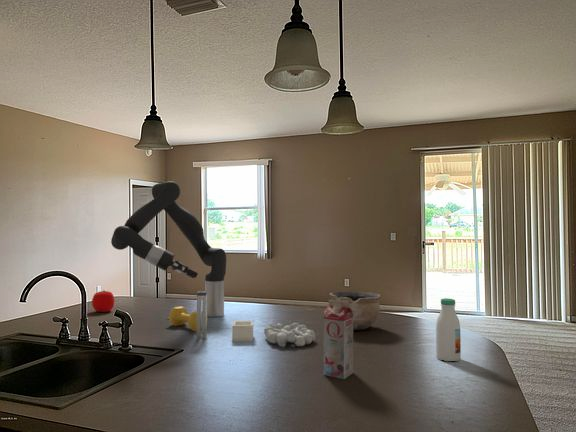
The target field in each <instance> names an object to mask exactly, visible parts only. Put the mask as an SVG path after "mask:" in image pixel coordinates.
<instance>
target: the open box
mask: <svg viewBox="0 0 576 432" xmlns="http://www.w3.org/2000/svg"><path fill="white" fill-rule="evenodd" d="M231 329H232V332H231V335H232V336H231V341H232V342H253V341H254V320H234V321H233V322H232V325H231Z"/></svg>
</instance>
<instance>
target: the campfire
mask: <svg viewBox="0 0 576 432" xmlns="http://www.w3.org/2000/svg"><path fill="white" fill-rule="evenodd" d="M263 329H264V330H263V333H264V335H265V339H266V341H267V342H269V343H272V344H279V345H284V344H286V343H293V344H294V346H295V347H296V346H297V347H304V346H305V345H310V344H311V343H312V342H313V341H315V339H316V333H315V331H314V330H312V329H309V328H307V325H305V324H300V323H298V322H294V323H291V324H290V325H283V324H282V323H279V322H278V323H277V324H273V323H270V324H269V325H268V326H266V327H265V328H263Z"/></svg>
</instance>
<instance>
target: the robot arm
mask: <svg viewBox="0 0 576 432" xmlns="http://www.w3.org/2000/svg"><path fill="white" fill-rule="evenodd" d="M151 194H152V198H153V199H152V200H150V201H149V202H147V203H146V204H144V205H142V206H141V207H140V208H138V209H137V210H136V211H134V213H133V214H132V215H130V216H129V218H127V220H126V221H125V223H124V225H119V226H117V227H116V228H115V229H114V231H113V233H112V237H111V240H110V243H111V246H112V247H113V248H114V249H115V250H118V251H119V250H120V251H122V250H124V249H127V248H128V247H130V248H131V249H132V253H133V254H134V255H135V256H137V257H138V258H140V259H143V260H144V261H146V262H147V263H149V264H151V265H153V266H155V267H157V268H159V269H161V270H163V271H164V272H165V271H167V270H168V268H169V267H170V268H171V269H172V271H174V272H177V273H179V274H183V275H186V276H188V277H190V278H192V279H196V278H197V276H198V275H199V273H198V272H197V271H195V270H192V269H190V267H189V266H187V265H186V264H184V263H182V262H181V261H179V260H174V258H175V256H176V255H175V254H174V252H171V251H169V250H167V249H165V248H163V247H161V246H160V245H156V244H154V243H152V242H150V241H148V240H146V239H144V238H143V237H142V235H140V234H139V233H140V232H142V230H144V228H146V226H147V225H148V224H149V223H150V222H151V221H152V220H153V219H154V218H155V217H156V216H157V215H159V214H160V213H161V212H162V211H164V212H165V213H167V215H168V216H169V217H170V218H171V220H172V221H173V222H174V223H175V226H177V227H178V229H179V230H180V232H181V233H182V234H183V235H184V237H186V239H187V240H188V242H189V243H190V244H191V246H192V248H194V250H195V251H196V253H197V255H198V256H199V258H200V260H201V261H202V262H203V264H204V265H205V266H207V267H211V268H210V269H211V270H210V272H209V273H206V275H205V277H204V278H205V284H204V286H205V287H204V291H207V318H208V317H209V318H217V317H218V318H219V317H223V316H224V315H225V276H226V274H227V272H226V271H227V254H226V252H225V250H224V249H223V248H221V247H212V246H211V245H210V244H209V243H208V242H207V241H206V239H205V236H204V228H203V226H202V224H201V222H200V221H199V220H198V218H197V217H196V216H195V215H194V214H193V213H191V212H190V211H189V210H187V209H185V208H184V207H182V206H180V205H179V204H178V203H177V202H176V201H177V200H178V199H179V198H180V195H181V188H180V186H179V184H178V183H177V182H175V181H173V180H172V181H171V180H169V181H162V182H160V183H159V182H158V183H155V184H154V185H153V186H152V188H151Z"/></svg>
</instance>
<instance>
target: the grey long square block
mask: <svg viewBox="0 0 576 432" xmlns="http://www.w3.org/2000/svg"><path fill="white" fill-rule="evenodd" d="M196 311H197V331H196V340H206V339H207V337H208V335H207V334H208V333H207V330H208V327H207V326H208V321H207V318H208V316H207V291H205V290H203V291H201V290H198V291H197V292H196ZM201 327H202V330H201Z"/></svg>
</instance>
